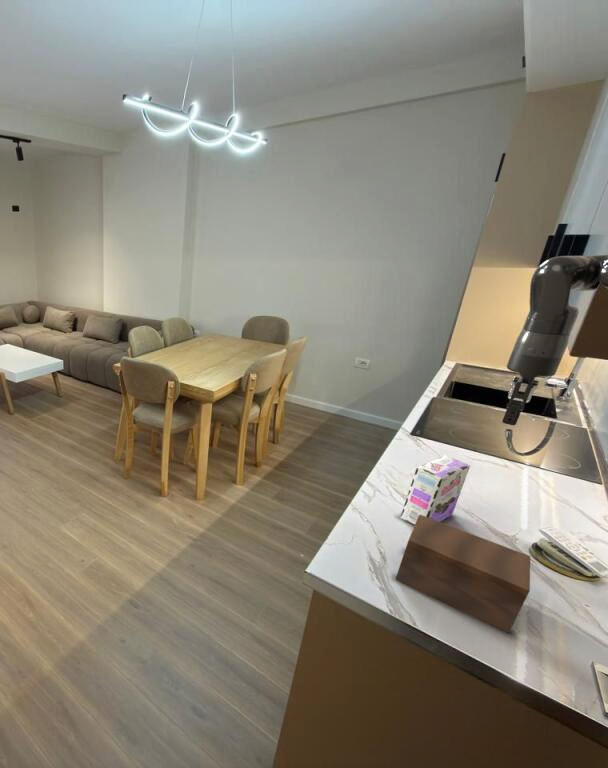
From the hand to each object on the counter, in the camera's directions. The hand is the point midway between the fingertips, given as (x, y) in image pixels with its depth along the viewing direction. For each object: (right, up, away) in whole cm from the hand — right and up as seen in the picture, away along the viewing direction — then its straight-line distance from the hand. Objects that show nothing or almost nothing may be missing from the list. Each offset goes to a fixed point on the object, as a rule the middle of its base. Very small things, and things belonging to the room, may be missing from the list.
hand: (510, 418), depth 91 cm
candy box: (-7, -29, +16) cm, 33 cm away
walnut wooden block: (-19, -37, -6) cm, 42 cm away
